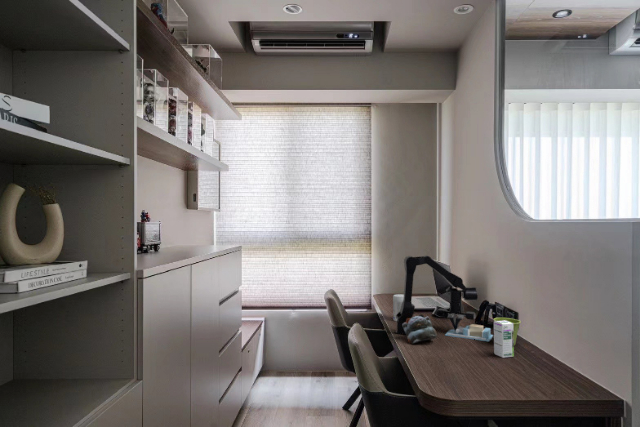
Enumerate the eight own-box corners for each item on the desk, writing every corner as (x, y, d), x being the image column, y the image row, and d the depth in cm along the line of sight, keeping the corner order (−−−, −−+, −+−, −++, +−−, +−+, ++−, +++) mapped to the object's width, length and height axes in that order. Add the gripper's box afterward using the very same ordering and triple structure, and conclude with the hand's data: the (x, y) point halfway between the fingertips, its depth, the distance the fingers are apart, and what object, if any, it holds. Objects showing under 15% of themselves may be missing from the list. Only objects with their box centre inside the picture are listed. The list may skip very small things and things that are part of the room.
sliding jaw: (468, 336, 209) (468, 329, 209) (455, 335, 212) (455, 328, 213) (472, 332, 217) (472, 326, 217) (459, 331, 220) (459, 324, 220)
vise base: (489, 341, 203) (489, 333, 203) (445, 335, 214) (445, 327, 214) (493, 335, 213) (493, 327, 213) (450, 330, 224) (450, 322, 224)
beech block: (482, 337, 208) (482, 327, 208) (469, 335, 211) (469, 325, 211) (483, 335, 212) (483, 325, 212) (471, 333, 215) (471, 324, 215)
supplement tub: (413, 320, 245) (413, 295, 245) (403, 323, 239) (403, 297, 239) (399, 318, 252) (399, 293, 252) (389, 320, 246) (389, 295, 246)
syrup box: (502, 358, 178) (502, 323, 179) (493, 353, 184) (493, 320, 184) (514, 357, 180) (514, 322, 180) (504, 352, 186) (504, 319, 186)
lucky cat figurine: (406, 344, 197) (398, 315, 204) (409, 348, 207) (401, 320, 214) (438, 337, 194) (429, 308, 201) (439, 341, 205) (430, 313, 211)
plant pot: (524, 348, 192) (523, 323, 192) (496, 347, 194) (496, 322, 194) (517, 341, 203) (517, 318, 204) (491, 340, 206) (491, 316, 206)
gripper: (477, 299, 219) (477, 329, 219) (441, 296, 229) (441, 324, 229) (473, 303, 210) (473, 334, 210) (436, 299, 219) (436, 329, 219)
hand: (455, 330), depth 217 cm, fingers closed
